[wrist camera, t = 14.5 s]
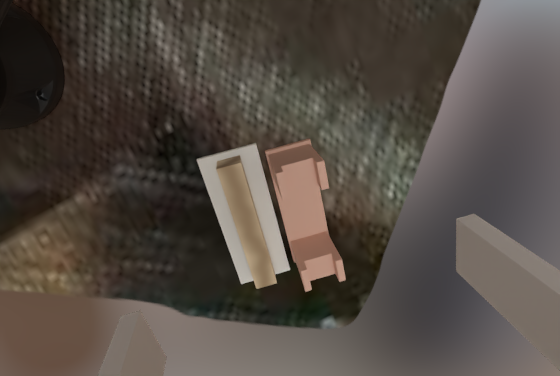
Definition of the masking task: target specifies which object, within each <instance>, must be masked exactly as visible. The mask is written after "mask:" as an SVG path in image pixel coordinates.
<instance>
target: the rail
mask: <svg viewBox="0 0 560 376" xmlns="http://www.w3.org/2000/svg"><path fill="white" fill-rule="evenodd" d="M216 170H217V173H218V176H219V179H220V182H221V185H222V188H223V191H224V194H225V197H226V200H227V203H228V206H229V209H230V211H231V214H232V217H233V220H234V223H235V226H236V229H237V232H238V235H239V238H240V241H241V244H242V247H243V250H244V253H245V256H246V259H247V262H248V265H249V268H250V271H251V274H252V277H253V280H254V283H255V286H256V289H258V288H261V287H265V286H268V285H272V284H275V283H277V281H276V277H275V272H274V268H273V265H272V262H271V258H270V255H269V252H268V248H267V245H266V241H265V238H264V235H263V231H262V228H261V225H260V221H259V218H258V215H257V211H256V208H255V205H254V201H253V198H252V194H251V191H250V188H249V184H248V181H247V178H246V174H245V171H244V168H243V164H242V161H241V157H240V155H238V156H235V157H231V158H227V159H224V160H220V161H217V166H216Z"/></svg>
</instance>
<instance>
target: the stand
mask: <svg viewBox="0 0 560 376" xmlns="http://www.w3.org/2000/svg"><path fill="white" fill-rule="evenodd" d="M265 154H266V157H267V161H268V165H269V169H270V173H271V177H272V180H273V184H274V188H275V192H276V196H277V200H278V203H279V207H280V211H281V215H282V219H283V223H284V226H285V230H286V234H287V238H288V242H289V246H290V249H291V253H292V257H293V261H294V262H296V264H297V267H298V270H299V273H300V276H301V279H302V282H303V285H304V288H305V291H310V290H312V288H311V284H310V281H311V280H315V279H318V278H322V277H325V276H329V275H332V274H336V276H337V278H338V280H339V282H340V281H344V280H346V279H345V273H344V268H343V262H342V259H341V257H340V255H339V253H338V251H337V249H336V248H335V246H334V244H333V242H332V240H331V239H330V237H329V234H328V228H327V223H326V218H325V213H324V208H323V203H322V198H321V192H320V188H321V190H324V189H328V188H329V185H328V179H327V174H326V168H325V163H324V160H323V159H322V158H321V156H320V155H319V154H318V153H317V152H316V151H315V150H314V149H313V147H312V146H311V141H310V139H305V140H301V141H298V142H294V143H290V144H287V145H283V146H279V147H275V148H272V149H268V150H265Z"/></svg>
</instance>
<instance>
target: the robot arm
mask: <svg viewBox="0 0 560 376" xmlns="http://www.w3.org/2000/svg"><path fill="white" fill-rule="evenodd" d="M12 2H13V0H0V129H11V128H18V127H22V126H25V125H28V124H31V123H33V122H36V121H38V120H40V119H42V118H44V117H45V116H46V115H48V114H49V113H50V112H51V111H52V110H53V109H54V108H55V106H56V105H57V103H58V102H59V100H60V97H61V95H62V91H63V87H64V70H63V65H62V61H61V58H60V55H59V52H58V50H57V48H56V46H55V44H54V42H53V41H52V39H51V38H50V36H49V35H48V33H47V32H46V31H45V29H44V28H43V27H42V26H41V25H40V24H39V23H38V22H37V21H36V20H35V19H34V18H33V17H32V16H31V15H29V14H28V13H27V12H26V11H24V10H23V9H21V8H20V7H18V6H17V5H15V4H13V3H12ZM456 271H457V272H458V273H459V274H460V275H461V276H462V277H463V278H464V279H465V280H466V281H467V282H468V283H469V284H470V285H471V286H472V287H473V288H474V289H475V290H476V291H477V292H478V293H480V294H481V295H482V296H483V297H484V298H485V299H486V300H487V301H488V302H489V303H490V304H491V305H492V306H493V307H494V308H495V309H496V310H497V311H498V312H499V313H500V314H501V315H502V316H503V317H504V318H505V319H506V320H508V321H509V322H510V323H511V324H512V325H513V326H514V327H515V328H516V329H517V330H518V331H519V332H520V333H521V334H522V335H523V336H524V337H525V338H526V339H527V340H528V341H529V342H530V343H531V344H532V345H534V346H535V347H536V348H537V349H538V350H539V351H540V352H541V353H542V354H543V355H544V356H545V357H546V358H547V359H548V360H549V361H550V362H551V363H552V364H553V365H554V366H555V367H557V369H558V370H560V271H559V270H558V269H556V268H555V267H553V266H552V265H550V264H549V263H547V262H546V261H544V260H543V259H541V258H540V257H538V256H537V255H535V254H534V253H532V252H531V251H529V250H527V249H526V248H525V247H523V246H522V245H520V244H519V243H517V242H516V241H514V240H513V239H511V238H510V237H508V236H507V235H505V234H504V233H502V232H501V231H499V230H498V229H496V228H495V227H493V226H492V225H490V224H489V223H487V222H486V221H484V220H483V219H481V218H480V217H478V216H477V215H475V214H471V215H468V216H465V217H461V218H457V221H456ZM165 363H166V355H165V354H164V352H163V350H162V348H161V346H160V345H159V343H158V341H157V339H156V338H155V336H154V334H153V332H152V330H151V329H150V327H149V325H148V323H147V321H146V320H145V318H144V316H143V315H142V312H141V311H137V312H134V313H130V314H126V315H123V316H121V317H120V320H119V322H118V325H117V327H116V330H115V333H114V335H113V338H112V341H111V343H110V345H109V348H108V351H107V353H106V356H105V358H104V361H103V363H102V366H101V369H100V371H99V374H98V376H163V374H164V368H165Z"/></svg>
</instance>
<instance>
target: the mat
mask: <svg viewBox="0 0 560 376" xmlns="http://www.w3.org/2000/svg"><path fill="white" fill-rule="evenodd" d="M238 155H240V157H241V161H242V164H243V168H244V171H245V174H246V178H247V181H248V184H249V188H250V191H251V194H252V198H253V201H254V205H255V208H256V211H257V215H258V218H259V221H260V225H261V228H262V231H263V235H264V238H265V241H266V245H267V248H268V252H269V255H270V258H271V262H272V265H273V268H274V272H275V274H278V273H281V272H285V271H288V270H290V267H289V264H288V260H287V256H286V253H285V249H284V245H283V242H282V238H281V234H280V230H279V227H278V223H277V219H276V216H275V212H274V208H273V205H272V201H271V197H270V193H269V190H268V186H267V182H266V179H265V175H264V171H263V168H262V164H261V160H260V156H259V153H258V149H257V145H256V143H253V144H250V145H246V146H242V147H238V148H235V149H231V150H227V151H223V152H220V153H216V154H212V155H209V156H205V157H201V158H197V162H198V165H199V168H200V171H201V174H202V176H203V179H204V182H205V185H206V187H207V190H208V193H209V196H210V198H211V201H212V204H213V207H214V210H215V212H216V215H217V218H218V221H219V223H220V226H221V229H222V232H223V235H224V237H225V240H226V243H227V246H228V248H229V251H230V254H231V257H232V260H233V262H234V265H235V268H236V271H237V273H238V276H239V279H240V282H241V284H244V283H247V282H250V281H254V280H253V277H252V274H251V271H250V268H249V265H248V262H247V259H246V256H245V253H244V250H243V247H242V244H241V241H240V238H239V235H238V232H237V229H236V226H235V223H234V220H233V217H232V214H231V211H230V209H229V206H228V203H227V200H226V197H225V194H224V191H223V188H222V185H221V182H220V179H219V176H218V173H217V170H216V166H217V161H220V160H224V159H227V158H231V157H235V156H238Z"/></svg>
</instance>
